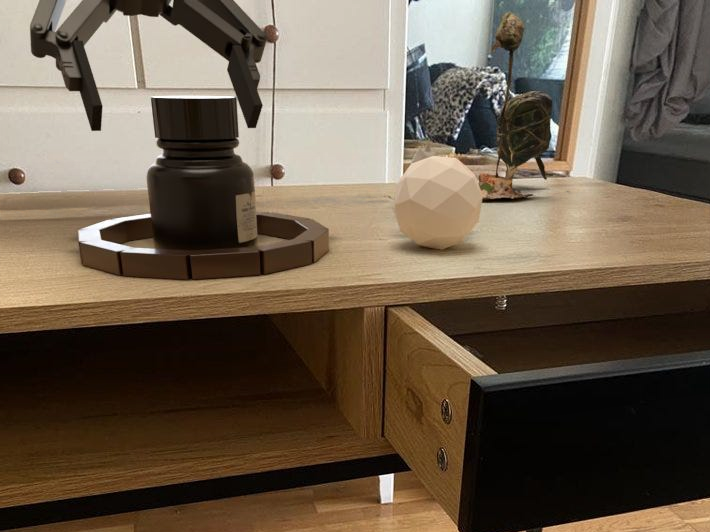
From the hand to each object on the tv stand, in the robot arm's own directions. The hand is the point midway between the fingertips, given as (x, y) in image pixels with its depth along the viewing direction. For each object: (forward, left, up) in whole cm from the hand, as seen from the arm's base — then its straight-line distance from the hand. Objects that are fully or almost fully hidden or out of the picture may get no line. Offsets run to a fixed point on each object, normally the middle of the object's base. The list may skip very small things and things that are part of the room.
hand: (179, 118), depth 64 cm
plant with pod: (+42, +19, -11) cm, 47 cm away
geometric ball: (+21, -7, -11) cm, 25 cm away
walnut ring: (+1, -3, -10) cm, 11 cm away
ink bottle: (+1, -3, -10) cm, 11 cm away
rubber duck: (+26, +8, -11) cm, 29 cm away
